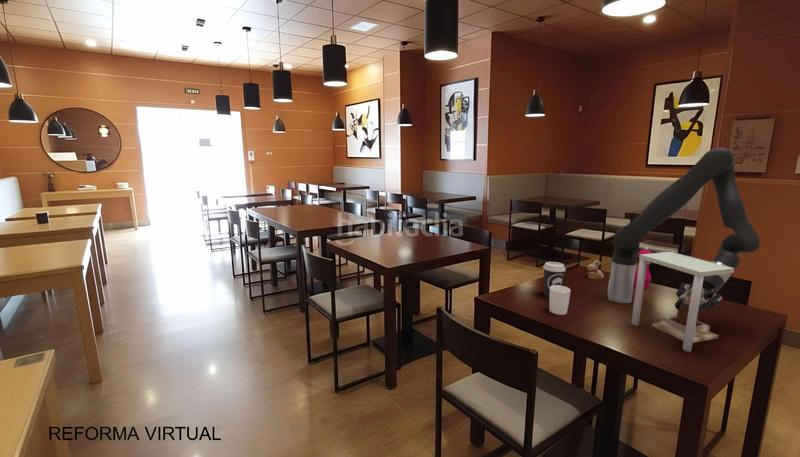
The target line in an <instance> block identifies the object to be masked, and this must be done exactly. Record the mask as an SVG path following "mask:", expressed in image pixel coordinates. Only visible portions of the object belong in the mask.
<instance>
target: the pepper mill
mask: <svg viewBox="0 0 800 457" xmlns="http://www.w3.org/2000/svg"><path fill="white" fill-rule="evenodd" d="M652 253H653V252H652V251H650V250H649V247H647V246H645V247H644V248H643V249H641V250H639V251H638V258H639V257H640V255H641V254H652ZM639 262H640V259H638V260H637V263H639ZM650 264H651V262H649V261H647V268H646V275H645V282H644V289H649V288H650V282H651V281H652V275H651V273H650ZM638 270H639V267H638V268H637V270H636V271H635V278H634V286H633V287H635V286H636V285H637V277H638Z"/></svg>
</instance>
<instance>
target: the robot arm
mask: <svg viewBox="0 0 800 457" xmlns="http://www.w3.org/2000/svg"><path fill="white" fill-rule="evenodd" d="M734 165H735V156H734V154H733V153H732V151H731V150H729V149H728V148H724V147H715V148H714V147H713V148H712V149H710V150H707V152H705V153H704V154H703V155H702V156H701V157H700V159H699V160H698V161H697V162H696V163H695V164H694V165H693V166H692V168H690V169H689V170H688V171H687V172H686V173H684V175H682V176H681V177H680V178H678V179H676V180H675V181H674V182H673V183H672V184H670V185H669V186H667V188H665V189H664V190H663V191H661V192H660V193H659V194H658V195H657V196H656V197H654V198H653V199H652V200H651V201H650V203H648V205H646V207H645V208H644V209H643V210H642V211H641V212H640V214H638V216H636V217H635V218H634V219H633V220H632V221H631V222H629V223H627V225H624V226H622V227H619V229H618V230H617V231H616V232H615V233H614V235H613V236H614V238H613V241H614V248H613V254H612V258H611V259H612V261H611V267H610V268H611V269H610V275H609V279H608V287H607V300H608V301H612V302H614V303H619V304H630V303H632V300H633V292H634V287H635V286H634V282H635V279H634V278H635V272H636V271H637V270H636V269H637V263H638V258H639V257H638V253H639V252H640V250H639V249H640V245H641V244H640V242H641V240H642V239H643V238H645V236H646V235H648V234H649V233H650V232H651V231H652V230H653V229H655V228H657V226H659V225H661V224H663V222H665V221H666V220H668V219H669V218H671V217H672V216H673V215H674V214H676V213H677V212H678V211H679V210H681V209H682V208H683V207H684V206H686V205H687V204H688V203H689V202H690V200H691V199H693V197H694V196H695V195H696V194H697V193H698V192H699V191H700V189H702V188H703V187H704V186H705V185H706V184H707V183H709V182H710V181H712V182H713V185H714V189H715V193H716V199H717V200H716V201H717V206H718V210H719V215H720V216H721V220H722V224H723V226H724V228H727V229H732V231H733V232H734V233H731V234H729V235H728V236H726V237H725V238H724V239H723V240H722V242H721V244H720V246H719V247H718V248H719V249H718V252H717V253H716V255H714V256H713V258H712V259H711V260H710V262H712V263H716V264H720V265H724V266H727V267H731V268H734V271H735V270H736V269H737V267H739V265H740V263H741V258H740V257H739V254H740V253H741V254H742V253H753V252H756V251H757V250H759V248H760V245H761V241H760V240H761V239H760V236H759V234H758V233H757V231H756V230H755V228H754V226H753V225H752V224H751V222H750V221H749V219H748V215H747V212H746V208H745V205H744V202H743V200H742V197H741V193H740V192H739V190H738V189H739V188H738V184H737V182H736V177H735V166H734ZM732 274H733V273H727V274H719V275H711V276H704V279H703V285H702V290H701V296H700V302H699V308H698V314H697V316H698V315H700V313H701V312H702V311H703V310H705V309H707V310H712V309H713V308H714V307H716V306H717V305H718V304H719V303H721V302H722V301H723V297H722V295H721V294H720V293H717V292H719V291H720V289H721V288H722V287H723V286H724V284H725V283H727V281H728V280H729V278H730V277H731V275H732ZM692 287H693V282H692V283H691V284H690V283H689V284H686V283H685V282H681V283H680V285H679V287H678V289H677V291H676V292H675V295H676V296H677V298H678V299H677V301H676V302H675V303H674V307H675V310H678V309H679V305H680V304H685V302H688V301H689V300H690V299H689V295H690V293H692ZM686 296H688V297H687V298H686ZM690 297H691V296H690ZM683 299H684V300H683ZM688 299H689V300H688Z"/></svg>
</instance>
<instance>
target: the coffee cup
mask: <svg viewBox="0 0 800 457" xmlns="http://www.w3.org/2000/svg"><path fill="white" fill-rule="evenodd" d="M542 269H543V284H544V285H543V289H544V290H543V292H544V295H543V296H545V297H547V298H549V296H550V287H551V286H555V285H558V286H563V281H564V276H565V272H566V271H567V270H566V267H565V264H564V263H561V262H557V261H547V262H545V263H544V265H543V266H542Z"/></svg>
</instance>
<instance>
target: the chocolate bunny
mask: <svg viewBox="0 0 800 457" xmlns="http://www.w3.org/2000/svg"><path fill="white" fill-rule="evenodd" d="M600 265H602V263H601V262H600V261H599V260H598V259H596V260H594V261H593V262H592V263H590V264H588V265H587V268H586V269H587V274H588V275H587V277H588V278H590V279H594V280H595V279H596V280H602V279H604V277H605V275H604V274H603V272H602V271H601V270H599V266H600Z"/></svg>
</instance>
